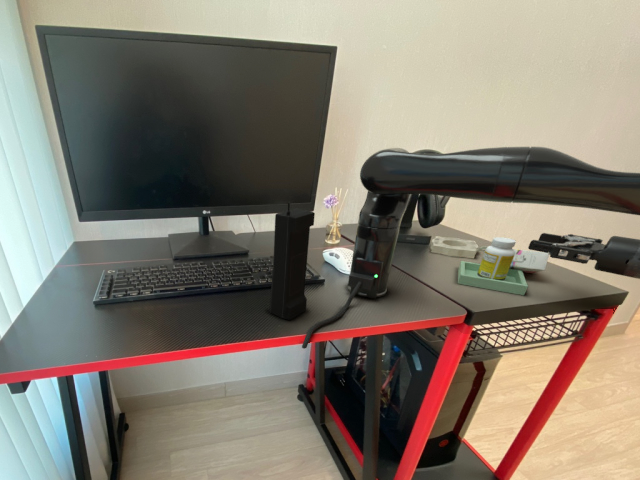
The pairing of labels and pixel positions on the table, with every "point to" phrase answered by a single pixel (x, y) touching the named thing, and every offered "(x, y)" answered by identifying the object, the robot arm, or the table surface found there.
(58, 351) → the table surface
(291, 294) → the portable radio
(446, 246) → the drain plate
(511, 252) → the pill bottle
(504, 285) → the basin tray
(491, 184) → the robot arm
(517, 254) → the ink cartridge box
